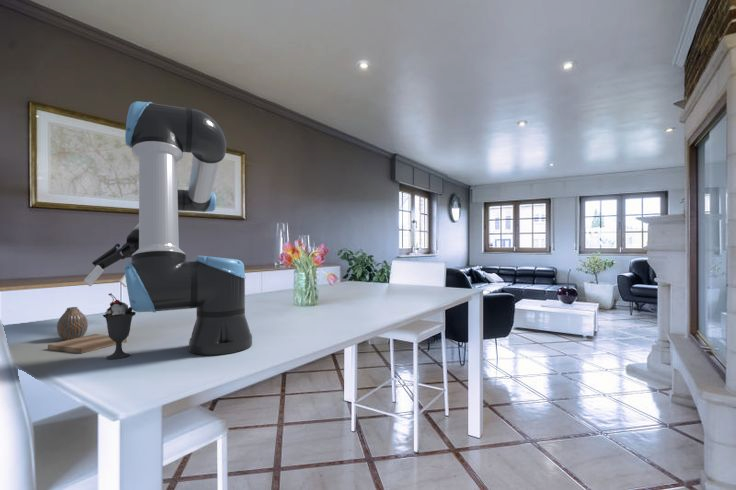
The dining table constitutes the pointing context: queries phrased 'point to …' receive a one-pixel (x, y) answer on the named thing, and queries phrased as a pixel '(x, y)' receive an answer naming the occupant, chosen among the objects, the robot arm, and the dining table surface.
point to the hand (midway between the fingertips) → (104, 283)
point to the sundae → (118, 325)
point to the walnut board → (83, 344)
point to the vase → (72, 324)
